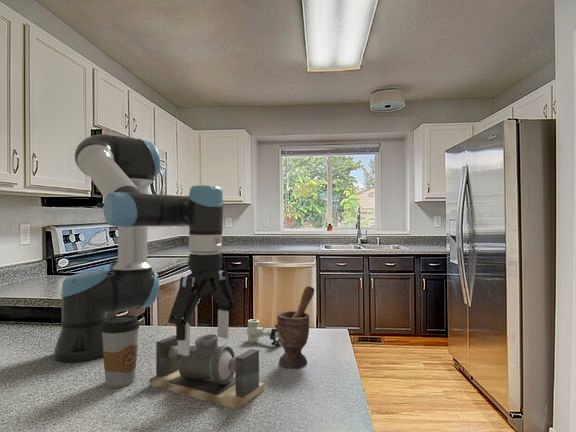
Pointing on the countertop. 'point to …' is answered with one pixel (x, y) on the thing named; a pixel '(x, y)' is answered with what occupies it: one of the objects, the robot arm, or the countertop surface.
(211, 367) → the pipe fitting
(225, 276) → the robot arm
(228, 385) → the shaft bed
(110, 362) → the coffee cup
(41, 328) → the countertop surface
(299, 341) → the mortar and pestle
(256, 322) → the valve
